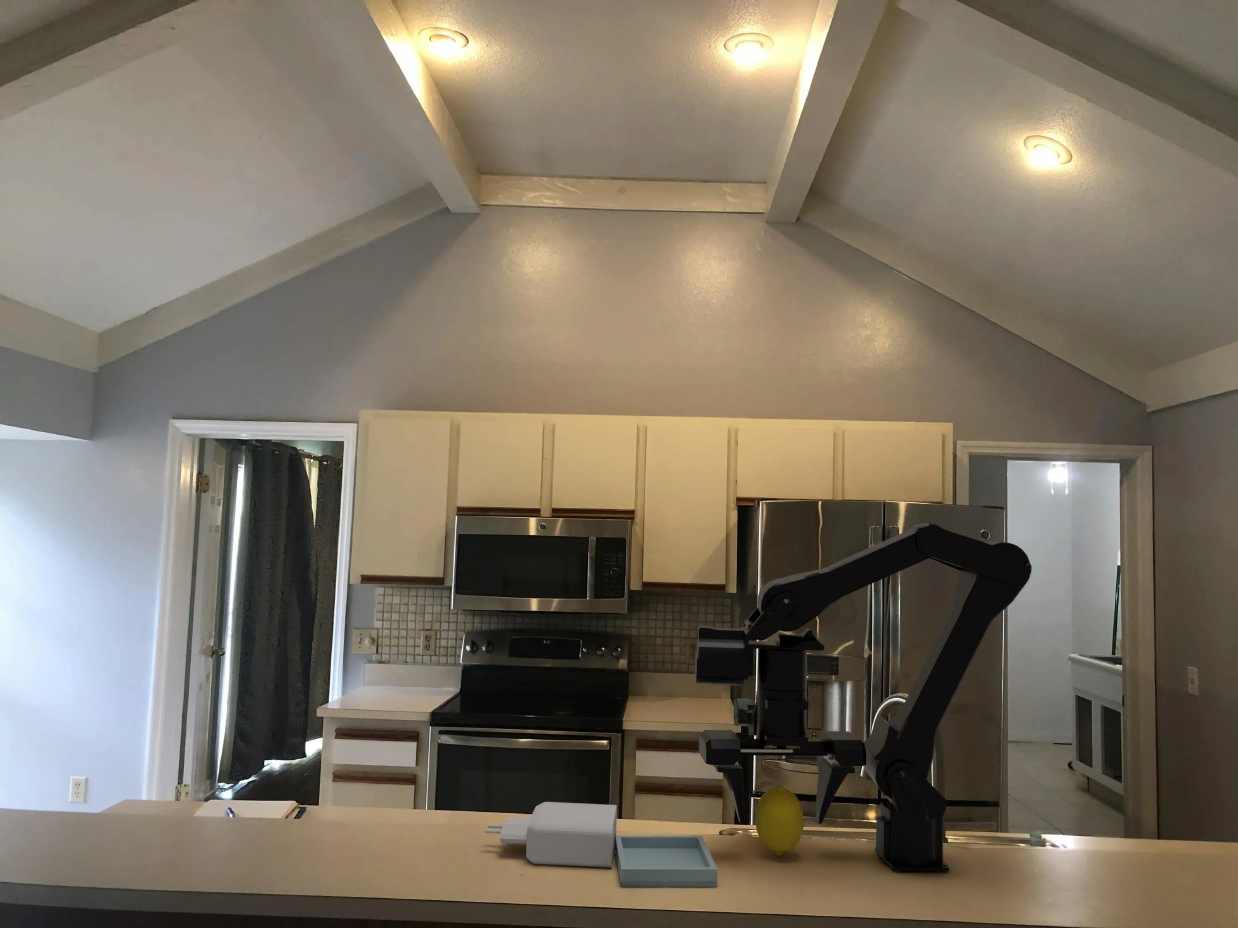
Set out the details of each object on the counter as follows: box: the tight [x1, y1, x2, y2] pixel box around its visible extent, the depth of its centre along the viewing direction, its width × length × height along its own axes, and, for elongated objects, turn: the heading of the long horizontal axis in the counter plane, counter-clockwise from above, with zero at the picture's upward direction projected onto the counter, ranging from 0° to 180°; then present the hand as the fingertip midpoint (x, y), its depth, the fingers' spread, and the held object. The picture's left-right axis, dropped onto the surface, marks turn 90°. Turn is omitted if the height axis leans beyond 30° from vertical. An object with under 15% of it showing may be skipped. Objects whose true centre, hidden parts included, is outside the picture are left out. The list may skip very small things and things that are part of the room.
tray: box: [614, 834, 718, 888], centre depth 99 cm, size 10×10×2 cm
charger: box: [484, 801, 618, 869], centre depth 104 cm, size 5×9×15 cm
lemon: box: [755, 784, 805, 856], centre depth 105 cm, size 6×6×8 cm
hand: (780, 822), depth 104 cm, fingers open, 9 cm apart
